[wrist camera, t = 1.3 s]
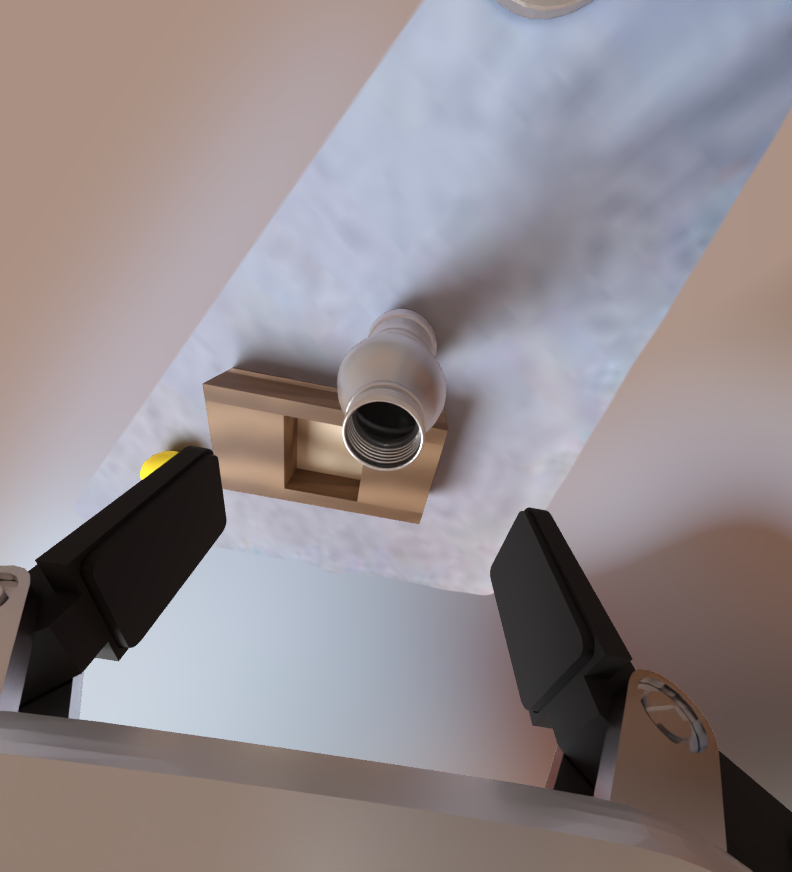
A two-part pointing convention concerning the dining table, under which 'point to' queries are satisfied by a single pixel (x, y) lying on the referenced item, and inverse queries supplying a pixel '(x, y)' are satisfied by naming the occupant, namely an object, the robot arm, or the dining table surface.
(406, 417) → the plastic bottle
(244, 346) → the dining table surface
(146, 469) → the lemon
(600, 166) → the dining table surface
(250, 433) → the brown slotted block
